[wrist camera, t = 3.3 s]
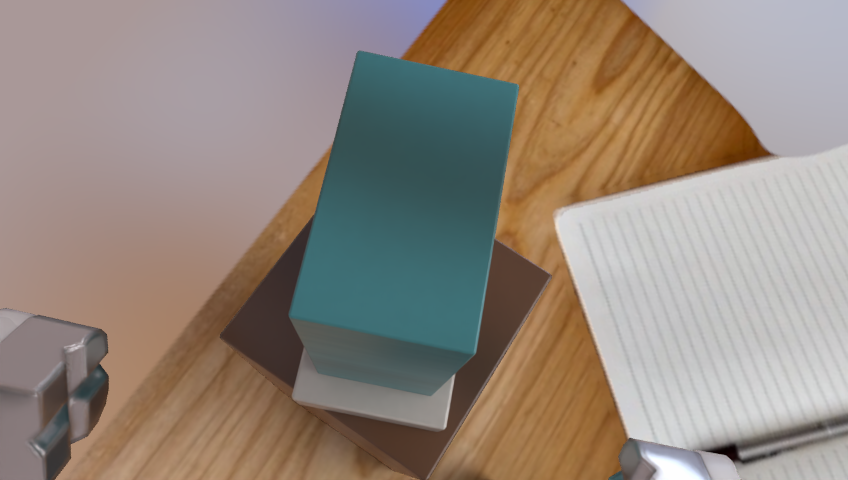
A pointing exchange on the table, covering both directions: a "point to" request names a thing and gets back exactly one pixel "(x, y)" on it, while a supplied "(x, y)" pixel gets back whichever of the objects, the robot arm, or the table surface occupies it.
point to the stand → (389, 443)
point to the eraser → (402, 241)
